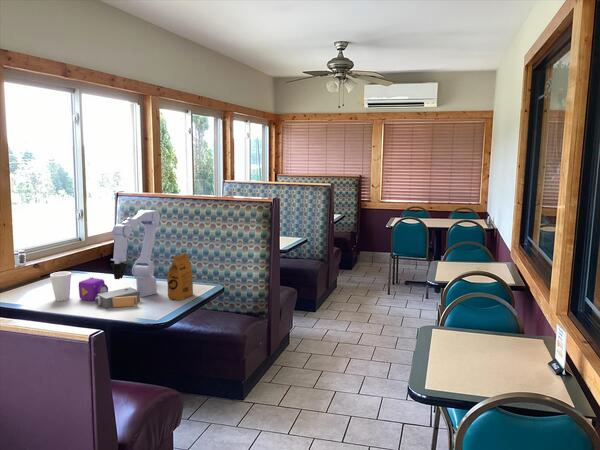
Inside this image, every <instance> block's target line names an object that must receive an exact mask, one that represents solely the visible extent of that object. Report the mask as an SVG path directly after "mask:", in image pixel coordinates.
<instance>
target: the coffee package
mask: <svg viewBox="0 0 600 450" xmlns="http://www.w3.org/2000/svg"><path fill="white" fill-rule="evenodd" d="M171 259H172V263H171V266H170V267H169V270H168V272H167V277H166V280H167V297H168V299H169V300H171V299H172V300H174V299H175V300H176V301H182V300H184V299H186V298H190V297H191V296H193V295H194V286H193V285H194V282H193V281H194V279H193V278H194V277H193V269H192V263H191V261H190V259H189V257H188V255H187V253H186V252H183V253H182V254H181V255H172V256H171Z"/></svg>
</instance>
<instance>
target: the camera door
mask: <svg viewBox="0 0 600 450" xmlns="http://www.w3.org/2000/svg"><path fill="white" fill-rule="evenodd" d="M132 306H138V302H137V296H128V297H115V298H112V308H121V307H123V308H124V307H132Z"/></svg>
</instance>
